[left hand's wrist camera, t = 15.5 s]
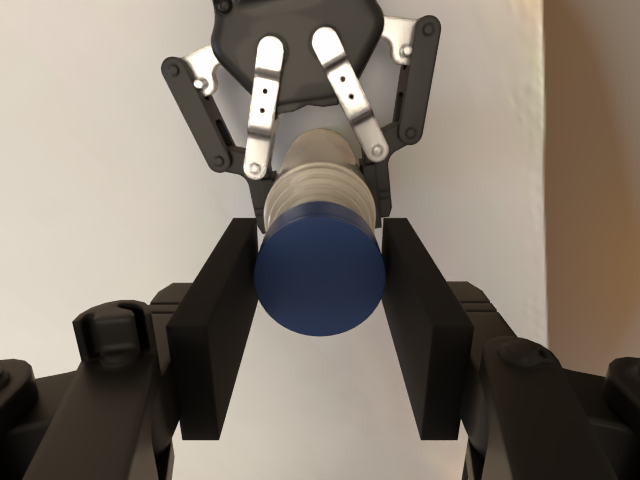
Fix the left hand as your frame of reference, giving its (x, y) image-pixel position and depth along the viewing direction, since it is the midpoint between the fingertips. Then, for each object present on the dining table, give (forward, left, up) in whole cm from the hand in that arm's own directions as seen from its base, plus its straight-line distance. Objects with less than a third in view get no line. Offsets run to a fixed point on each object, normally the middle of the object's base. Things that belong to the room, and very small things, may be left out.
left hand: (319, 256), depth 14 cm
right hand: (-3, 0, -10) cm, 10 cm away
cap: (0, 0, +2) cm, 2 cm away
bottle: (0, 0, -17) cm, 17 cm away
